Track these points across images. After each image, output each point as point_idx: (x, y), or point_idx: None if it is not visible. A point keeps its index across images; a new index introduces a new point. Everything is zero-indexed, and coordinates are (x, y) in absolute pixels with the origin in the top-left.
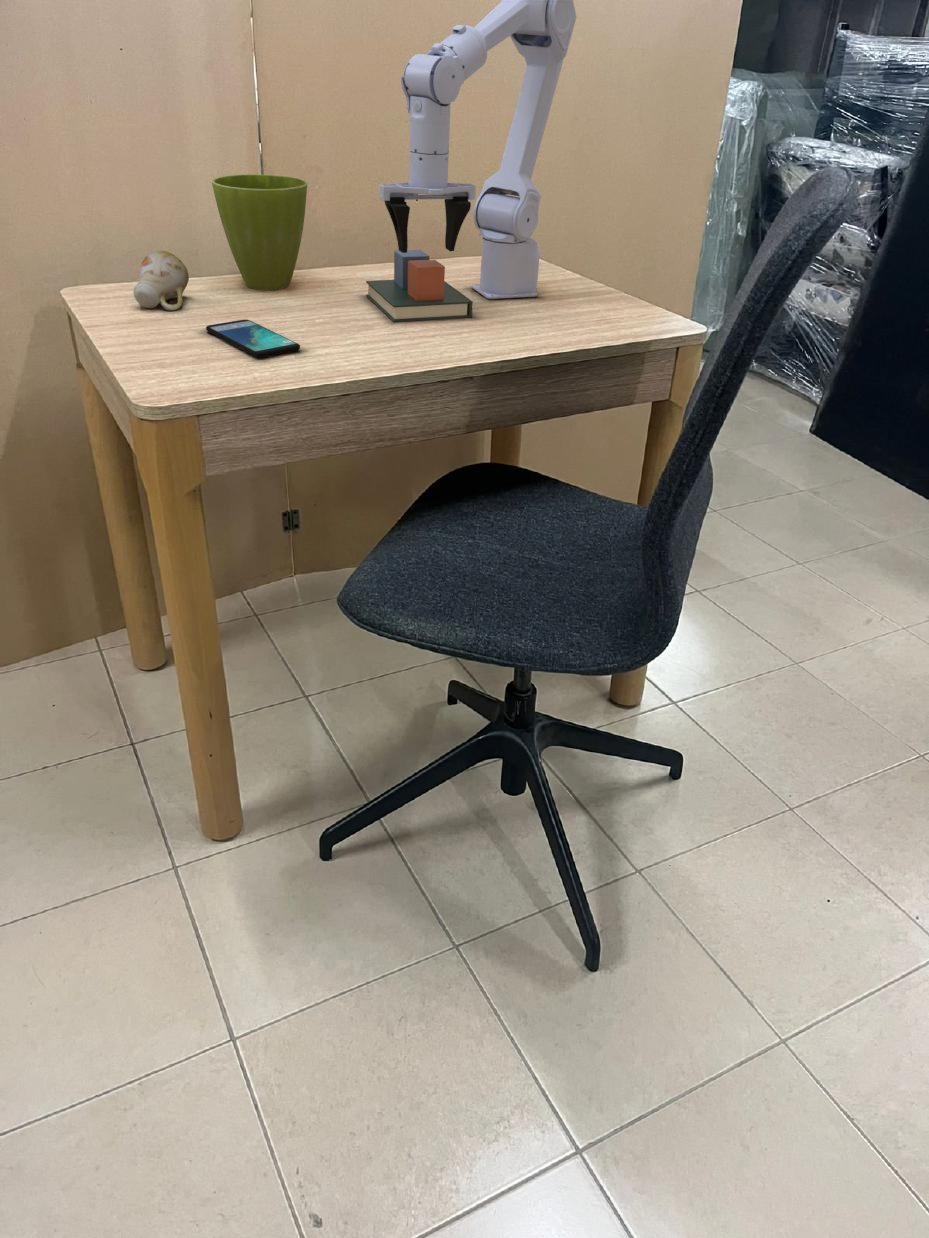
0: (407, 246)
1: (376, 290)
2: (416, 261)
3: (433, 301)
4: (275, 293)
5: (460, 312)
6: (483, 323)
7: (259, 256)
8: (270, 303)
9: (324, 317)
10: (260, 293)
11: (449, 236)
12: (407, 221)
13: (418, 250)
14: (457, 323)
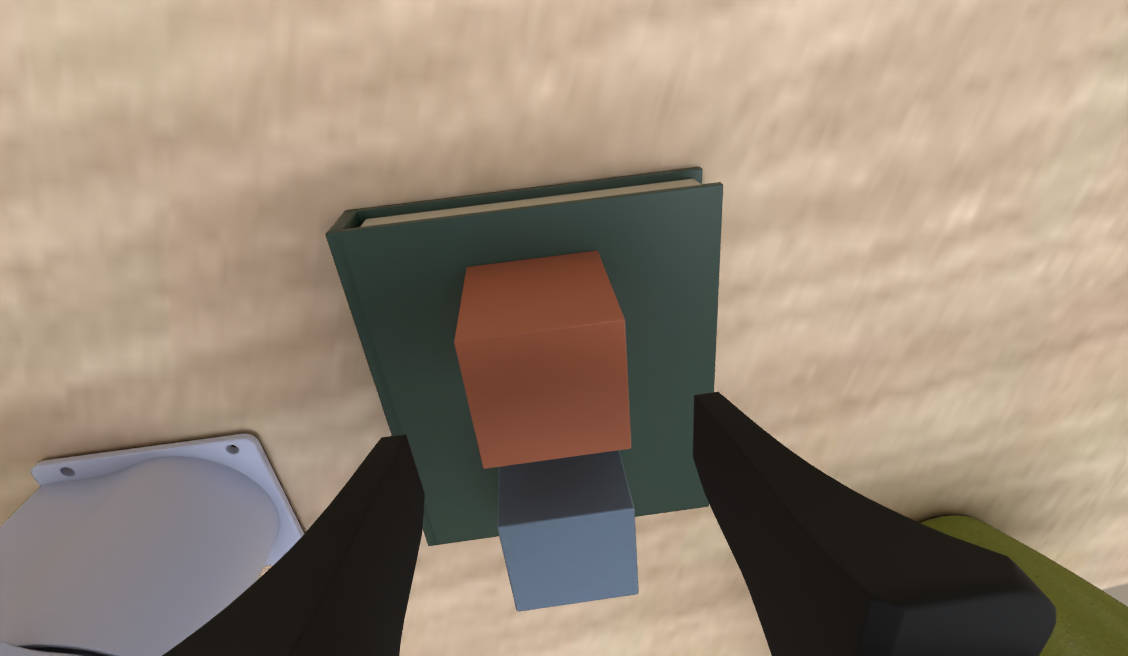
0: (708, 410)
1: None
2: (592, 435)
3: (520, 243)
4: (944, 493)
5: (394, 219)
6: (296, 120)
7: (1077, 584)
8: (1010, 406)
9: (926, 252)
10: (984, 493)
11: (395, 521)
12: (797, 516)
13: (529, 601)
14: (423, 131)
